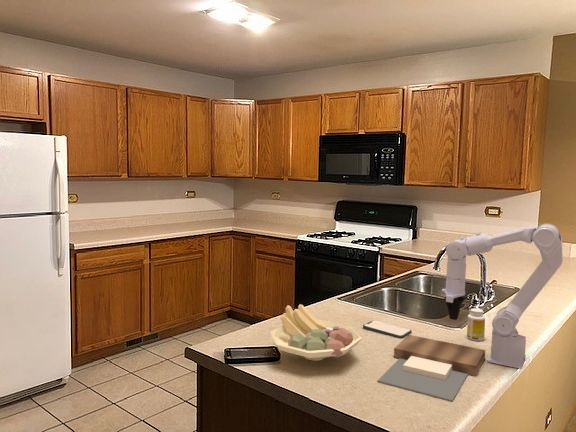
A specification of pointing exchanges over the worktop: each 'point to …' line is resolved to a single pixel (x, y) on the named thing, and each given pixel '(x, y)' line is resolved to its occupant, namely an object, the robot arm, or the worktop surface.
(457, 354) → the brown wooden flat block
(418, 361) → the cream flat block
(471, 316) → the supplement bottle
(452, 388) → the mat
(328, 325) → the dish with food
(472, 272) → the worktop surface
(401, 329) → the phone case
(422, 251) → the worktop surface
